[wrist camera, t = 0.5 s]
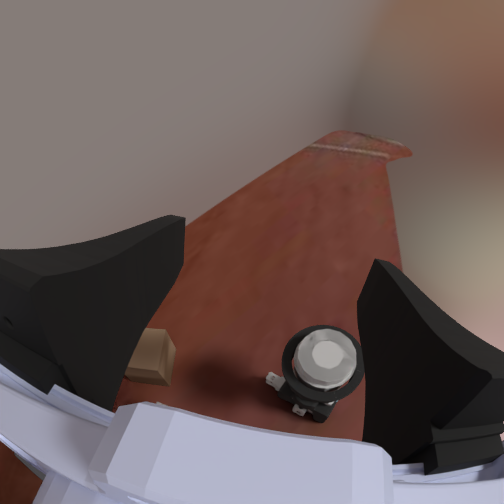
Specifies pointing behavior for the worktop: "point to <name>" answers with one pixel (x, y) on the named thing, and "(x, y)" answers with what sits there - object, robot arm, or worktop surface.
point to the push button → (319, 370)
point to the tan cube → (152, 358)
